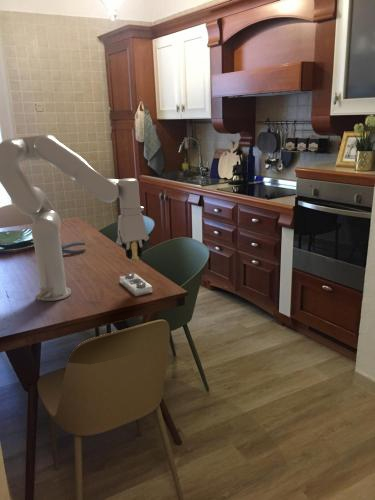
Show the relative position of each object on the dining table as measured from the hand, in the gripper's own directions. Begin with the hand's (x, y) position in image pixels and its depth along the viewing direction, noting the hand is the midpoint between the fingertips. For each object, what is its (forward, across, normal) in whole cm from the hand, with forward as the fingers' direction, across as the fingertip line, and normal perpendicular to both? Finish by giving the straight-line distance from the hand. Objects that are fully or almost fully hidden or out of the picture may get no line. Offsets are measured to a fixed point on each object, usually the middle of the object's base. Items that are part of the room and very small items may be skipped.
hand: (134, 257), depth 171 cm
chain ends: (+13, 0, 0) cm, 13 cm away
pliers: (+13, +13, -61) cm, 64 cm away
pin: (+1, 0, 0) cm, 1 cm away
